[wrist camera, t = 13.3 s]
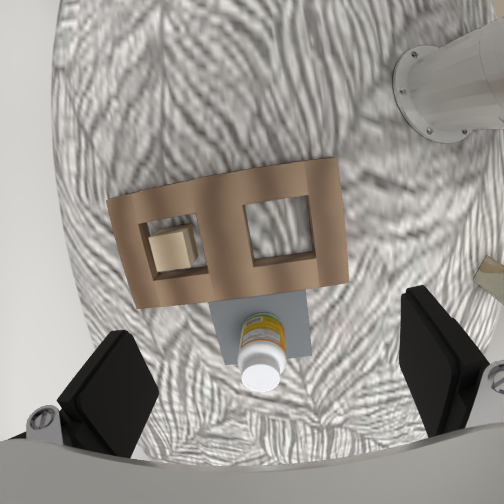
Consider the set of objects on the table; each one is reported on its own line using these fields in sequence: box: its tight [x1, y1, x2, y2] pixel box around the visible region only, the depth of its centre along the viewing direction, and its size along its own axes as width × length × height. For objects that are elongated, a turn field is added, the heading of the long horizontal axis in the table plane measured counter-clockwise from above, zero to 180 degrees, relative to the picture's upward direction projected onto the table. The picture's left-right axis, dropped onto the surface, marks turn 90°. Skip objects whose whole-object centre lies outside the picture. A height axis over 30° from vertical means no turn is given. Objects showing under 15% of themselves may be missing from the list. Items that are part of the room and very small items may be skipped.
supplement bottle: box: [237, 313, 286, 392], centre depth 34 cm, size 5×5×10 cm
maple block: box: [149, 224, 198, 272], centre depth 35 cm, size 4×4×4 cm
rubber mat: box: [208, 290, 312, 365], centre depth 39 cm, size 12×10×1 cm
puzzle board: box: [106, 157, 349, 309], centre depth 35 cm, size 26×14×2 cm, turn 100°
